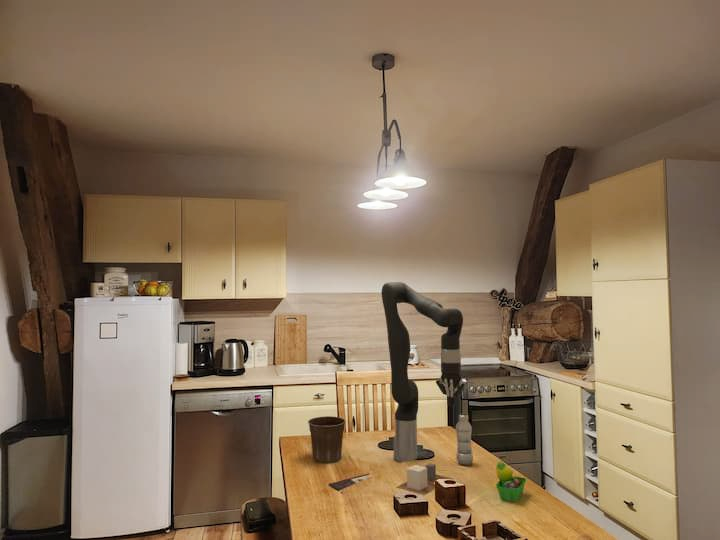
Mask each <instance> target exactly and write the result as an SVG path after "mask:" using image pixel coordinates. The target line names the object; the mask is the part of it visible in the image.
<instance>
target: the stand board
mask: <svg viewBox="0 0 720 540" xmlns="http://www.w3.org/2000/svg"><path fill="white" fill-rule="evenodd" d="M438 479H452V480H453V479H454V478H453V477H449V476H445V475H440V474H437V473H436V480H438ZM434 482H435V480H434V481H428V480H427V487H426V488H424V489H422V490H420V491H418V490H415V489H411V488H407V481H405V482H403V483H401V484H399V485H398V486H396V487H395V488H396V489H400V490H403V491H406V492H409V493H410V492H411V493H414V494H417V495H420V494H421V495H422V496H425V495H427V494H429V493H431V492H432V491H435V490H436V489H435V484H434Z"/></svg>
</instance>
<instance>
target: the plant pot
mask: <svg viewBox="0 0 720 540" xmlns="http://www.w3.org/2000/svg"><path fill="white" fill-rule="evenodd" d="M307 424H308V427H309V432H310V439H311V440H310V441H311V450H312V451H311V452H312V459H313V461H315V463H316V462H317V463H318V462H319V463H321V464H322V463H323V464H330V463H335V462H338V461H340V460H341V459H342V450H343V438H344V431H345V425H346V419H345V418H343V417H339V416H332V415H331V416H330V415H329V416H317V417H313V418H310V419H308V421H307Z"/></svg>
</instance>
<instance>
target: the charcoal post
mask: <svg viewBox="0 0 720 540" xmlns="http://www.w3.org/2000/svg"><path fill="white" fill-rule="evenodd" d="M436 466H437V465H436V464H435V463H431V462H430V463H429V462H428V463H427V464H426V465H425V467H426V468H427V480H428V481H434V480H436V474H437V473H436V470H437V469H436Z"/></svg>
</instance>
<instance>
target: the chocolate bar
mask: <svg viewBox="0 0 720 540" xmlns="http://www.w3.org/2000/svg"><path fill="white" fill-rule="evenodd" d="M370 477H373V475H372V474H371V473H365V474H361V475H357V476H354V477H351V478H347V479H346V478H345V479H341V480H339V481H335V482H331V483H328V486H329V487H331V488H332V489H334V490H336V491H337V492H340V494H343V491H342V490H344V489H346V488H348V487H351V486H353V485H355V484H357V483H359V482H361V481H365V480H367V479H368V478H370ZM341 491H342V492H341Z"/></svg>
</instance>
